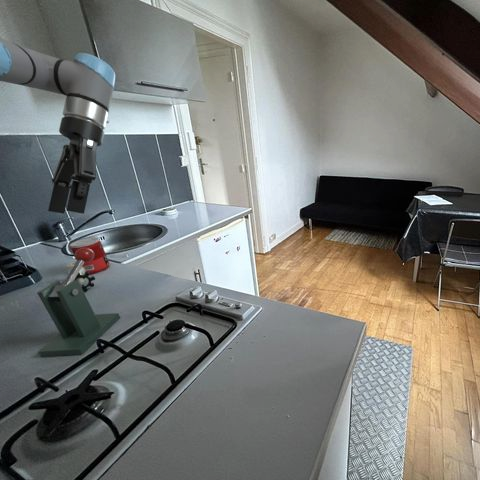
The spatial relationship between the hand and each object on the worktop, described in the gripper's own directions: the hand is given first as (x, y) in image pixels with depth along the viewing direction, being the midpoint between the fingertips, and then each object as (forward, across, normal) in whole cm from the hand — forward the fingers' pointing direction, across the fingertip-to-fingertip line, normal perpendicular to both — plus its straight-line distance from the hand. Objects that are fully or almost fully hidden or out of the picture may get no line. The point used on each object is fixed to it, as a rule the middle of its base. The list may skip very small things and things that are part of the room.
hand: (65, 212), depth 59 cm
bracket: (+28, -2, -7) cm, 29 cm away
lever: (+14, 0, -5) cm, 15 cm away
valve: (+21, +28, -14) cm, 37 cm away
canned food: (+16, +37, -20) cm, 45 cm away
